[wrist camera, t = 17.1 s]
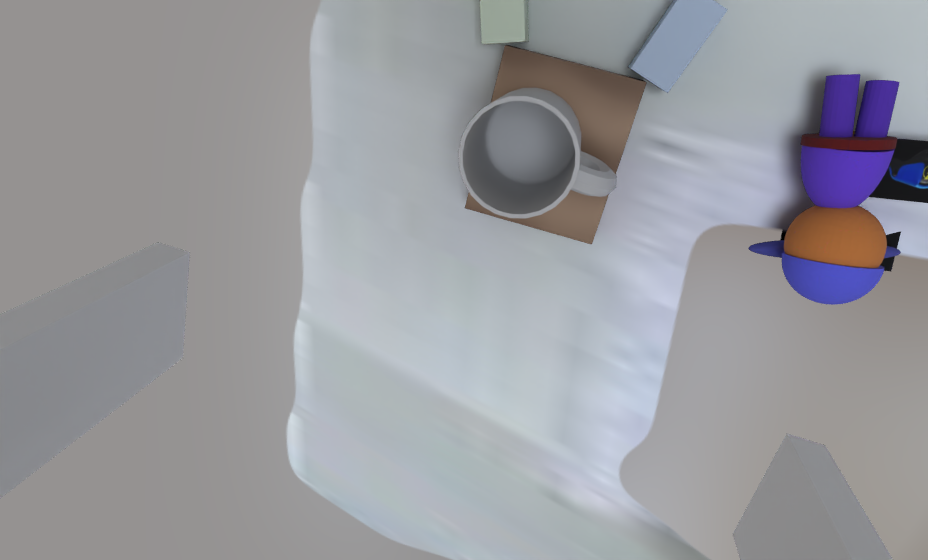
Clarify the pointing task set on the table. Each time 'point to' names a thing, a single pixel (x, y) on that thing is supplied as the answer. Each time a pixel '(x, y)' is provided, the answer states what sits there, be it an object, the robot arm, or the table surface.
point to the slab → (600, 119)
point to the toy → (849, 194)
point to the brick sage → (504, 21)
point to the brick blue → (676, 40)
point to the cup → (528, 155)
